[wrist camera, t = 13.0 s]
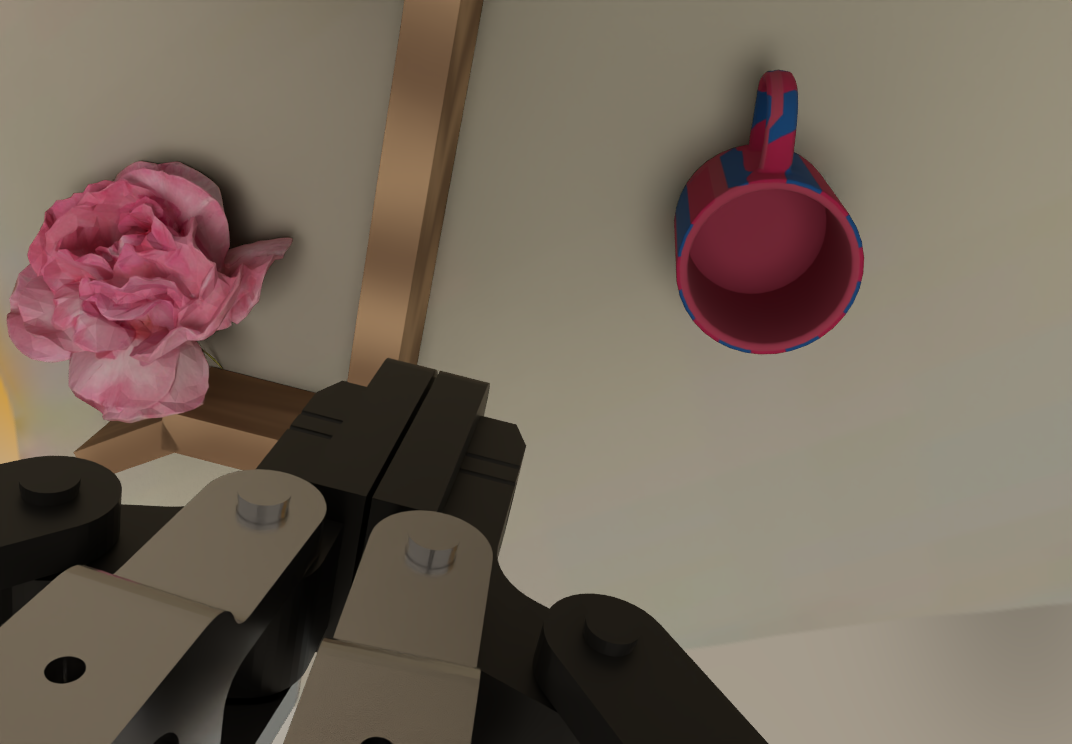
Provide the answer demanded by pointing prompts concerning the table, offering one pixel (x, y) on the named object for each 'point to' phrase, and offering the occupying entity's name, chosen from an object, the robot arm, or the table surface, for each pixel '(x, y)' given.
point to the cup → (765, 238)
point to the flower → (136, 289)
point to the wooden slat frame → (390, 268)
